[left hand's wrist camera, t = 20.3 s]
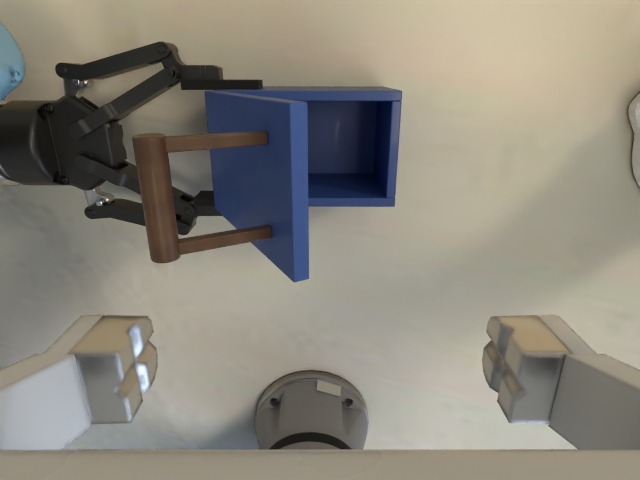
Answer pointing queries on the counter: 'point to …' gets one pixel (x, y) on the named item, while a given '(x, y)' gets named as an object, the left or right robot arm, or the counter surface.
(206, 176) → the counter surface
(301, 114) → the lid
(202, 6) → the counter surface
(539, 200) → the counter surface
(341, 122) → the chest
